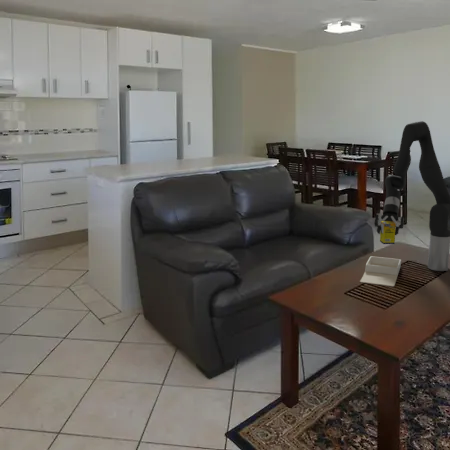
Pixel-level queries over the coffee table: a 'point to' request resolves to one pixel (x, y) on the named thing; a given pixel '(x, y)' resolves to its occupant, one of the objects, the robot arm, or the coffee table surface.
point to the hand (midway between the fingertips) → (387, 233)
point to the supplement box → (387, 232)
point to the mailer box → (381, 271)
